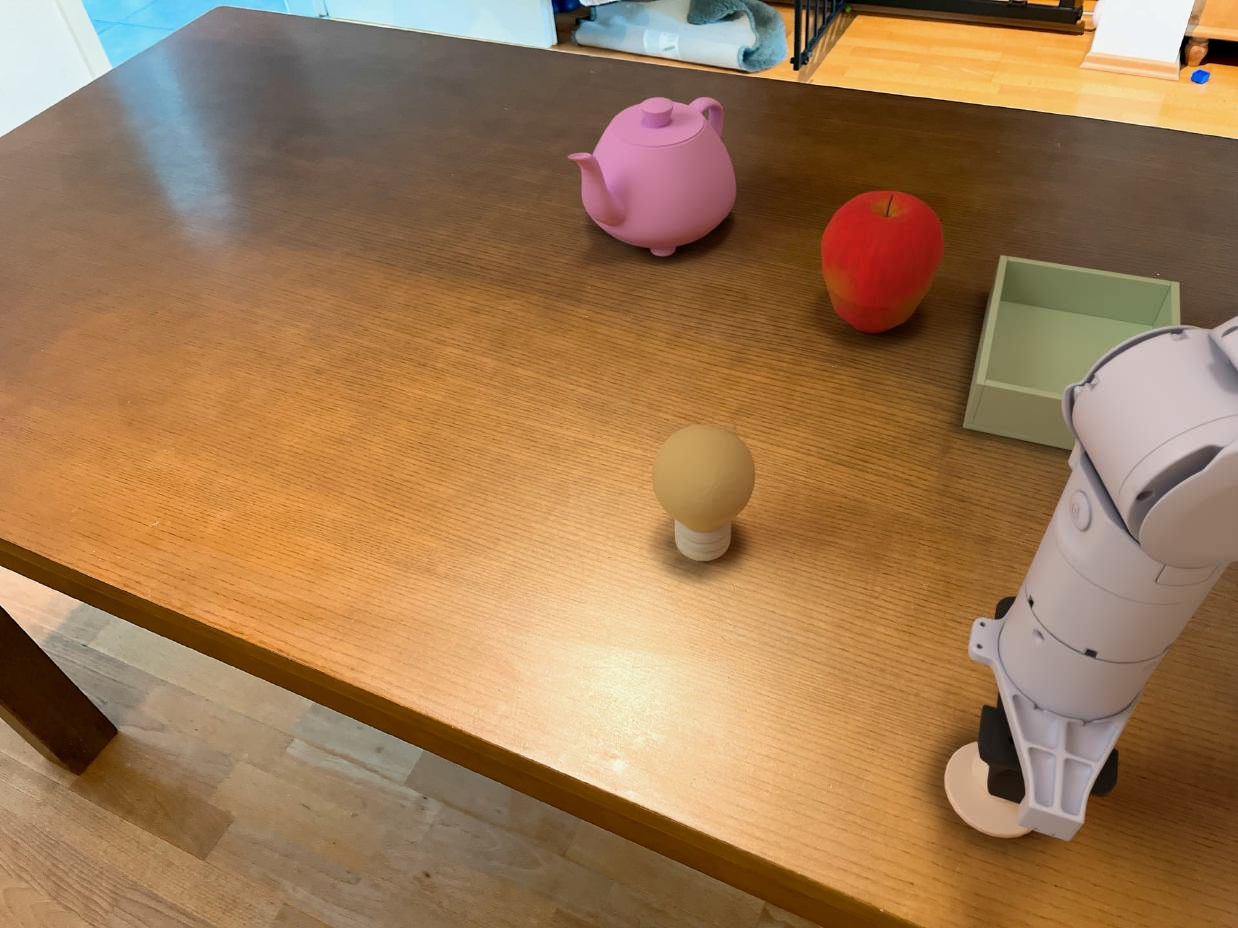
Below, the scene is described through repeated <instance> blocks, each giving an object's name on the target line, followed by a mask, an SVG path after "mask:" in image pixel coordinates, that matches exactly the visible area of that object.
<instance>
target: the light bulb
mask: <svg viewBox="0 0 1238 928" xmlns="http://www.w3.org/2000/svg"><path fill="white" fill-rule="evenodd" d="M755 468H756V467H755V461H754V458H753V456H752V453H751V451H750V449H749V447H748V446H747V445H746V443H745V442H744V441H743V440H742V439H741V438H740V437H738V435H735V434H734V433H732V432H730V431H729V430H727V429H725V428H723V427H719V426H715V425H711V424H703V423H699V424H697V423H696V424H695V423H694V424H691V425H686V426H685V427H682V428H681V429H679V430H677V431H675V432H674V433H673V434H672V435H670V436H669V437H668V439H666V440H665V441H664V443H663V444H662V445H661V447H660V448H659V450H658V451H657V453H656V455H655V458H654V461H653V465H652V470H651V485H652V489H653V492H654V496H655V497H656V499H657V501H658V503H659V504H660V506H661V508H662V509H663V510H664V512H666V513H667V514H668V516H670V517H671V518H673V519H674V542H675V545H676V547H677V549H678V550H679V552H680V553H681V554H682V555H683V556H685V557H687V558H688V559H691V560H693V561H698V562H709V561H713V560H716V559H719V558H720V557H721V556H722V555H724V554H726V552H727V550H728V549H729V547H730V545H731V540H732V521H733V519H734V518H736V517H737V516H739V514H740V513H741V512H743V510H744V509H745V508H746V507H747V505H748V503H749V501H750V500H751V497H752V495H753V491H754V488H755V484H756V469H755Z"/></svg>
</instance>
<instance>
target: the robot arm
mask: <svg viewBox="0 0 1238 928" xmlns="http://www.w3.org/2000/svg"><path fill="white" fill-rule="evenodd" d="M1061 408H1062V414H1063V418H1064V420H1065V422H1066V424H1067V426H1068V428H1069V430H1070V431H1071V433H1072V434H1073V436H1074V437H1075V438H1076V442H1075V446H1074V449H1073V451H1072V450H1071V453H1070V456H1069V458H1068V460H1067V464H1068V466H1069V468H1070V470H1071V473H1070V475H1069V477H1068V480H1067V482H1066V485H1065V487H1064V489H1063V492H1062V493H1061V496H1060V498H1059V500H1058V502H1057V505H1056V507H1055V509H1054V512H1053V514H1052V515H1051V519H1050V521H1049V522H1048V526H1047V528H1046V530H1045V532H1044V534H1043V536H1042V538H1041V541H1040V544H1039V546H1038V548H1037V550H1036V552H1035V554H1034V556H1033V559H1032V561H1031V563H1030V566H1029V568H1028V571H1027V573H1026V575H1025V577H1024V579H1023V582H1022V583H1021V586H1020V588H1019V590H1018V592H1017V595H1016V596H1015V595H1014V596H1013V595H1012V596H1011V595H1010V596H1006V597H1003V598H1001V599H1000V600H999V601H998V602H997V604H996V606H995V611H994V618H989V617H983V616H982V617H981V616H980V617H978V618H976V619H974V621H973V623H972V626H971V629H970V631H969V633H970V634H969V639H968V645H967V654H968V656H969V658H970V659H971V660H972V661H974V662H976V663H978V664H980V665H981V664H982V665H985V666H987V667H989V668H990V669H991V670H992V672H993V674H994V677H995V678H994V679H995V682H996V685H997V689H998V692H997V699H996V706H991V705H989V704H983V706H982V708H981V714H980V721H979V727H978V733H977V734H978V735H977V742H978V750H979V756H980V758H981V760H982V761H984V762H985V763H986V764H988V766H989V771H988V778H987V789H988V792H989V794H990V795H992V796H995V797H999V798H1002V799H1005V800H1008V801H1011V802H1014V803H1018V804H1020V805H1019V811H1018V820H1017V824H1018V825H1019V826H1022V827H1025V828H1028V829H1031V830H1032V831H1034V832H1037V833H1040V834H1043V835H1047V836H1049V837H1053V838H1057V839H1060V840H1062V841H1065V842H1070V841H1071V840H1072V839H1073V838H1074V836H1075V835H1076V834H1077V833H1078V831H1079V830H1080V829H1081V827H1082V826H1083V825H1084V824H1085V818H1086V813H1087V812H1086V811H1087V804H1088V799H1089V796H1090V797H1091V796H1092V797H1097V798H1105V797H1107V796H1108V795H1110V793H1111V792H1112V791H1113V790H1114V788H1115V787H1116V785H1117V783H1118V779H1119V750H1118V749H1117V748H1115V746H1116V744H1117V742H1118V740H1119V738H1120V736H1121V735H1122V733H1123V731H1124V729H1125V727H1127V724H1128V722H1129V721H1130V718H1131V717H1132V715H1133V713H1134V711H1135V710H1136V707H1137V706H1138V704H1139V703H1140V700H1141V697H1142V694H1143V693H1144V690H1145V684H1146V682H1147V681H1148V680H1149V679H1150V677H1151V675H1152V674H1153V673H1154V671H1155V670H1156V668H1157V667H1158V665H1160V662H1162V660H1163V658H1164V657H1165V655H1166V654H1167V653H1168V651H1169V650H1170V648H1171V647H1172V645H1173V644H1174V643H1175V641H1176V640H1177V639H1178V637H1179V636H1180V634H1181V633H1182V632H1183V630H1184V629H1185V627H1186V626H1187V624H1188V623H1189V622H1190V620H1191V619H1192V617H1193V616H1194V615H1195V613H1196V612H1197V611H1198V609H1199V608H1200V606H1201V605H1202V603H1203V602H1204V600H1205V599H1206V598H1207V597H1208V595H1209V594H1210V592H1211V591H1212V590H1213V588H1214V586H1215V585H1216V584H1217V582H1218V581H1219V579H1220V578H1221V576H1222V575H1223V573H1224V572H1226V570H1227V569H1228V567H1229V565H1230V564H1231V563H1235V562H1238V315H1236V316H1234V317H1232V318H1230V319H1229V320H1227V321H1225V322H1223V323H1221V324H1220V325H1218V326H1216V327H1214V328H1212V329H1211V328H1202V327H1199V326H1194V325H1186V324H1185V325H1183V324H1181V325H1177V326H1166V327H1161V328H1156V329H1153V330H1149V331H1146V332H1143V333H1141V334H1138V335H1136V336H1134V337H1131V338H1129V339H1127V340H1125V341H1124V342H1122V343H1120V344H1118V345H1117V346H1115V347H1114V348H1112V349H1111V350H1110V351H1108V352H1107V353H1106V354H1105V355H1103V356H1102V357H1101V358H1100V359H1099V360H1098V361H1097V362H1096V363H1095V364H1094V365H1093V366H1092V367H1091V369H1090V370H1089V371H1088V373H1087V374H1086V376H1085V377H1084V379H1083V380H1081V381H1080V382H1077V383H1073V384H1069V385H1068V386H1066V388H1065V390H1064V393H1063V396H1062V403H1061Z"/></svg>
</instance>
